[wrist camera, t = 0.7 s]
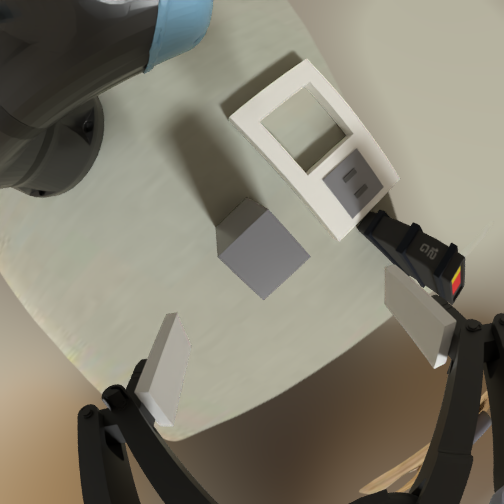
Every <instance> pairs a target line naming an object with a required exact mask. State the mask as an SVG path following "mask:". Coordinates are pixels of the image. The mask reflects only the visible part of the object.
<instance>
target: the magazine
mask: <svg viewBox="0 0 504 504" xmlns="http://www.w3.org/2000/svg"><path fill="white" fill-rule="evenodd" d="M358 230H359V231H360V232H361V233H362V234H363V235H364V236H365V237H366V238H367V239H368V240H369V241H371V242H372V243H373V244H374V245H375V246H376V247H377V248H378V249H379V250H380V251H381V252H382V253H383V254H384V255H385V256H386V257H387V258H388V259H389V260H390V261H391V262H392V263H393V264H395V265H396V266H398V267H399V268H400V269H401V270H402V271H403V272H404V273H406V274H407V275H408V276H411V277H413V278H415V279H416V280H417V281H418V283H419V284H420V286H421V287H423V288H424V287H425V286H427V287H428V288H430V289H431V290H433V291H434V292H436V293H437V294H438V295H439V296H440V297H442V298H444V299H445V300H446V301H448V302H449V303H450V304H453V303H454V302H455V300H456V298H457V297H458V295H459V294H460V292H461V290H462V289H463V287H464V280H465V257H464V256H463V255H461V254H460V253H458V248H457V246H456V245H455V244H453V243H451V244H450V246H449V247H448V246H447V245H445V244H443V243H442V242H440V241H439V240H437V239H435V238H433V237H431V236H429V235H427V234H425V233H423V231H422V229H421V227H420V225H418V224H416V223H412V225H411V226H409V225H407V224H404V223H402V222H400V221H398V220H395V219H392V218H390V217H389V216H388V215H387V214H386V212H385V211H382V210H379V211H378V213H374V212H370V211H369V212H368V213H367V215H366V216H365V217H364V219H363V220H362V222H361V223H360V225H359V226H358Z"/></svg>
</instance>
